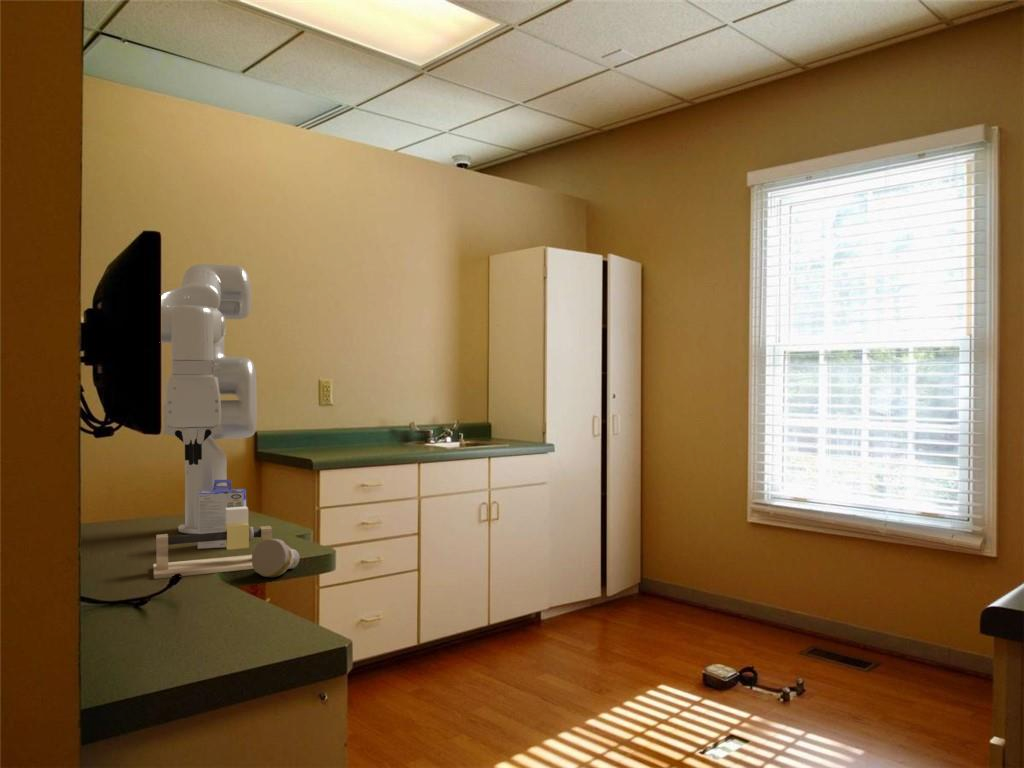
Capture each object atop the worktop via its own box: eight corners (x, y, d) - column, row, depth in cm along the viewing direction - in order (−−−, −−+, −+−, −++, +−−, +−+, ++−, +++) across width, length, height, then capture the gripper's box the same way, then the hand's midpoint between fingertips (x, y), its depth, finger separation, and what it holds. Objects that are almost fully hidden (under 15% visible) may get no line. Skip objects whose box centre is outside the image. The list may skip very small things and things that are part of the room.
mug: (310, 567, 151) (307, 529, 146) (279, 601, 143) (275, 561, 138) (278, 555, 153) (274, 517, 148) (246, 588, 146) (241, 548, 140)
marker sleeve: (225, 545, 153) (225, 507, 153) (246, 543, 155) (246, 505, 155) (227, 549, 149) (227, 510, 149) (248, 547, 151) (248, 509, 151)
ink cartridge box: (247, 542, 174) (246, 478, 174) (245, 547, 168) (245, 481, 168) (200, 544, 171) (200, 479, 171) (197, 549, 166) (196, 483, 166)
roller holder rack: (153, 568, 150) (153, 530, 150) (270, 556, 159) (270, 521, 159) (153, 579, 142) (153, 539, 142) (277, 566, 151) (276, 528, 151)
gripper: (231, 369, 155) (232, 459, 156) (149, 369, 149) (150, 463, 149) (235, 370, 148) (236, 464, 149) (150, 370, 142) (151, 468, 143)
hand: (193, 463), depth 149 cm, fingers closed
